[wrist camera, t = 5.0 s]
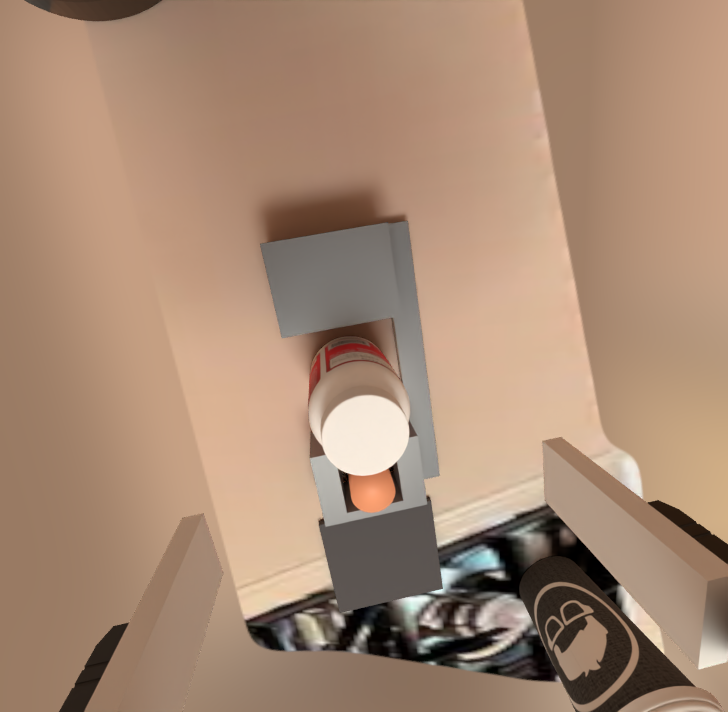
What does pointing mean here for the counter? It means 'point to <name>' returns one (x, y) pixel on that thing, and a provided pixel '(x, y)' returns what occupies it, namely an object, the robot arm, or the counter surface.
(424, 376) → the housing
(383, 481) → the plunger
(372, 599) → the mat
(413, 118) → the counter surface
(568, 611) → the coffee cup
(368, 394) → the pill bottle
